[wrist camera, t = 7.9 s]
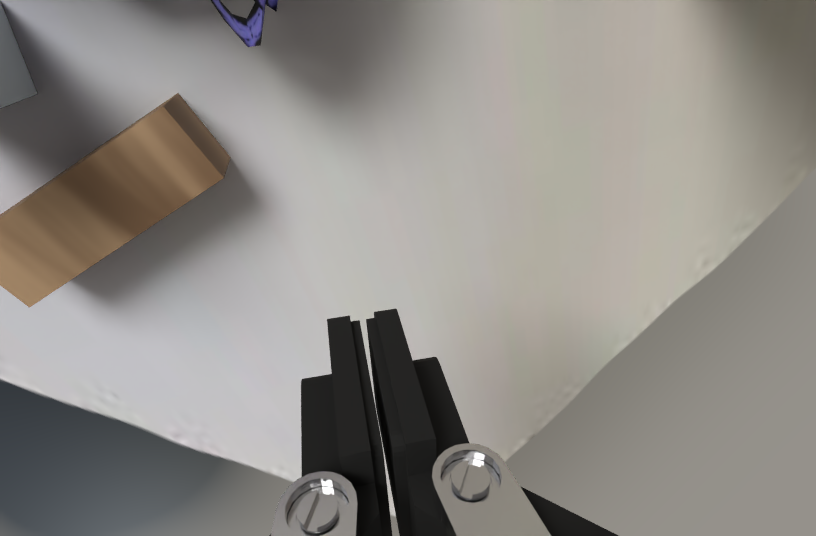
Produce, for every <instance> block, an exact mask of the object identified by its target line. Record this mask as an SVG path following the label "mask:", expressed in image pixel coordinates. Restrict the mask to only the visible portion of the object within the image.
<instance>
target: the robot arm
mask: <svg viewBox="0 0 816 536" xmlns="http://www.w3.org/2000/svg"><path fill="white" fill-rule="evenodd" d="M366 322H367V331H368V340H369V349H370V358H371V367H372V375H373V384H374V393H375V402H376V408H375V403H374V397H373V392H372V387H371V381H370V376H369V370H368V365H367V359H366V354H365V348H364V343H363V337H362V332H361V326H360V321H359V320H358V321H352V322H351V321H350V316H345V317H338V318H331V319H327V323H328V335H329V346H330V358H331V369H332V374H330V375H324V376H318V377H312V378H306V379H302V381H301V429H302V477H301V478H299V479H297V480H296V481H295V482H294V483H293V484H291V485H290V486H289V487H288V488H287V489H286V491H285V492H284V493H283V495H282V496H281V498H280V500H279V503H278V506H277V508H276V513H275V518H274V523H273V528H272V533H271V535H270V536H392V530H391V520H390V511H389V501H388V492H387V483H386V474H385V465H384V456H383V449H382V442H383V447H384V453H385V458H386V464H387V469H388V474H389V480H390V485H391V491H392V496H393V501H394V507H395V512H396V518H397V523H398V529H399V534H400V536H618V535H616V534H614V533H612V532H610V531H608V530H606V529H604V528H602V527H600V526H598V525H596V524H594V523H592V522H590V521H588V520H586V519H584V518H582V517H580V516H578V515H576V514H574V513H572V512H570V511H568V510H566V509H564V508H562V507H560V506H558V505H556V504H554V503H552V502H550V501H548V500H546V499H544V498H542V497H540V496H538V495H536V494H534V493H532V492H530V491H528V490H526V489H524V488H522V487H520V485H519V484H518V482H517V481H516V479H515V477H514V476H513V474H512V473H511V471H510V469H509V468H508V466H507V465H506V463H505V462H504V461H503V459H502V458H501V457H500V456H499V455H498V454H497V453H495V452H494V451H492V450H491V449H489V448H487V447H484V446H482V445H479V444H469V441H468V438H467V436H466V433H465V430H464V428H463V425H462V422H461V420H460V417H459V414H458V411H457V409H456V406H455V403H454V401H453V398H452V395H451V393H450V390H449V387H448V385H447V382H446V379H445V377H444V374H443V371H442V369H441V366H440V363H439V361H438V359H437V358H436V357H431V358H426V359H420V360H414V361H412V358H411V354H410V351H409V348H408V344H407V341H406V338H405V335H404V331H403V328H402V325H401V321H400V318H399V315H398V312H397V309H391V310H384V311H378V312H374V318H371V319H366ZM376 409H377V414H376ZM377 415H378V419H377ZM378 420H379V425H378ZM379 426H380V430H379ZM380 431H381V436H380ZM381 437H382V442H381Z"/></svg>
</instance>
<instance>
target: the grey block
mask: <svg viewBox="0 0 816 536" xmlns="http://www.w3.org/2000/svg"><path fill="white" fill-rule="evenodd" d="M36 94H37V91H36V89H35V86H34V84H33V81H32V79H31V76H30V74H29V71H28V69H27V66H26V64H25V61H24V59H23V56H22V54H21V51H20V49H19V46H18V44H17V41H16V39H15V37H14V34H13V32H12V29H11V27H10V24H9V22H8V19H7V17H6V14H5V12H4V9H3V7H2V4H1V2H0V108H2V107H5V106H8V105H10V104H13V103H15V102H18V101H21V100H23V99H26V98H28V97H31V96H34V95H36Z"/></svg>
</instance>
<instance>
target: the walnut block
mask: <svg viewBox="0 0 816 536" xmlns="http://www.w3.org/2000/svg"><path fill="white" fill-rule="evenodd" d="M229 160H230V156H229V155H228V154H227V152H226V151H225V150H224V149H223V148H222V146H221V145H220V144H219V143H218V141H217V140H216V139H215V138H214V136H213V135H212V134H211V133H210V132H209V130H208V129H207V128H206V127H205V125H204V124H203V123H202V122H201V121H200V119H199V118H198V117H197V116H196V114H195V113H194V112H193V111H192V110H191V108H190V107H189V106H188V105H187V103H186V102H185V101H184V100H183V99H182V97H181V96H180V95H179V94H178V93H177V94H176V95H174V96H173V97H172V98H170V99H169V100H167V101H166V102H164V103H163V104H161V105H160V106H158V107H157V108H156V109H154V110H153V111H151V112H150V113H148V114H147V115H145V116H144V117H142V118H141V119H139V120H138V121H137V122H135V123H134V124H132V125H131V126H129V127H128V128H126V129H125V130H123V131H122V132H120V133H119V134H118V135H116V136H115V137H113V138H112V139H110V140H109V141H107V142H106V143H104V144H103V145H102V146H100V147H99V148H97V149H96V150H94V151H93V152H91V153H90V154H88V155H87V156H85V157H84V158H83V159H81V160H80V161H78V162H77V163H75V164H74V165H72V166H71V167H69V168H68V169H66V170H65V171H64V172H62V173H61V174H59V175H58V176H56V177H55V178H53V179H52V180H50V181H49V182H48V183H46V184H45V185H43V186H42V187H40V188H39V189H37V190H36V191H34V192H33V193H31V194H30V195H29V196H27V197H26V198H24V199H23V200H21V201H20V202H18V203H17V204H15V205H14V206H13V207H11V208H10V209H8V210H7V211H5V212H4V213H2V214H1V215H0V285H1V286H2V287H3V288H5V289H6V290H7V291H9V292H10V293H11V294H12V295H14V296H15V297H16V298H18V299H19V300H20V301H22V302H23V303H24V304H26V305H27V306H28V307H31V306H32V305H34V304H35V303H37V302H38V301H40V300H41V299H43V298H44V297H46V296H47V295H49V294H50V293H52V292H53V291H55V290H56V289H58V288H59V287H61V286H62V285H64V284H65V283H67V282H68V281H70V280H71V279H73V278H74V277H76V276H77V275H79V274H80V273H82V272H83V271H85V270H86V269H88V268H89V267H91V266H92V265H94V264H95V263H97V262H98V261H100V260H101V259H103V258H104V257H106V256H107V255H109V254H110V253H112V252H113V251H115V250H116V249H118V248H119V247H121V246H122V245H124V244H125V243H127V242H128V241H130V240H131V239H133V238H134V237H136V236H137V235H139V234H140V233H142V232H143V231H145V230H146V229H148V228H149V227H151V226H152V225H154V224H155V223H157V222H159V221H160V220H162V219H163V218H165V217H166V216H168V215H169V214H171V213H172V212H174V211H175V210H177V209H178V208H180V207H181V206H183V205H184V204H186V203H187V202H189V201H190V200H192V199H193V198H195V197H196V196H198V195H199V194H201V193H202V192H204V191H205V190H207V189H208V188H210V187H211V186H213V185H214V184H216V183H217V182H219V181H220V180H222V179H223V178H224V176H225V173H226V170H227V167H228V163H229Z"/></svg>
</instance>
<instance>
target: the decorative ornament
mask: <svg viewBox="0 0 816 536" xmlns="http://www.w3.org/2000/svg"><path fill="white" fill-rule="evenodd" d="M211 1H212V3H213V4H214V6H215V7H216V9H217V10H218V12H219V13H220V15H221V16H222V17H223V19H224V20H225V22H226V23H227V24H228V25H229V26H230V27H231V28H232V29H233V31H234V32H235V33H236V34H237V35H238V36H239V37H240V39H241V40H242V41H243V42H244V43H245V44H246V45H247V46H248V47H251V46H259V45H261V37H262V28H263V20H264V12H265V4H266V5H267V6H269V7H270V8H272V9H273V10H274V11H277V2H278V0H254V1H255V4H254V6H253V8H252V10H251V12H250V14H249V16H248V18H247V19H246V18H243V17H239V16H236V15H233V14H231V12H230V11H229V10H228V9H227V8H226V7H225V6H224V5H223V4H222V2H221V1H220V0H211Z"/></svg>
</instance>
